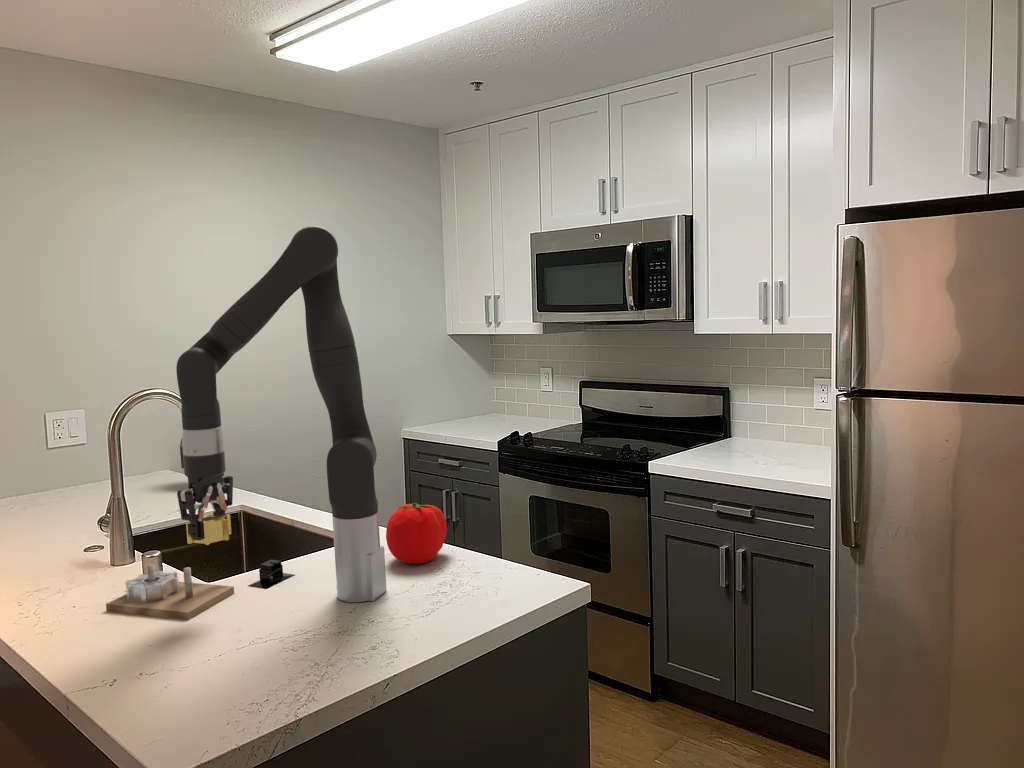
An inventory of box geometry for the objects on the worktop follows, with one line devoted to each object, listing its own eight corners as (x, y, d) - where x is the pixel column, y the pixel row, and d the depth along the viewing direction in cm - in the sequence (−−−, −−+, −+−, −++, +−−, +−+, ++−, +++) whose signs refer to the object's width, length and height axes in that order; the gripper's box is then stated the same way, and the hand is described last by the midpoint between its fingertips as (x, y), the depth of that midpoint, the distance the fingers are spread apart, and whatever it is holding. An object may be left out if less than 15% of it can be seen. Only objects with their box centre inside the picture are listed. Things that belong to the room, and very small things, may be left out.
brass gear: (204, 531, 161) (202, 512, 161) (240, 534, 159) (239, 514, 159) (178, 543, 154) (176, 523, 154) (215, 546, 152) (214, 525, 151)
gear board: (234, 593, 168) (231, 558, 167) (189, 619, 155) (185, 582, 154) (156, 586, 174) (153, 553, 173) (106, 611, 161) (103, 575, 160)
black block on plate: (264, 595, 168) (262, 574, 168) (238, 591, 172) (236, 570, 171) (303, 575, 179) (301, 555, 179) (278, 571, 183) (276, 551, 182)
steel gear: (189, 586, 169) (188, 572, 169) (155, 604, 160) (154, 589, 159) (151, 583, 172) (149, 569, 172) (116, 600, 163) (114, 586, 162)
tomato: (407, 575, 175) (404, 514, 174) (374, 561, 186) (371, 503, 184) (463, 557, 186) (460, 500, 184) (429, 545, 196) (426, 490, 194)
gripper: (195, 458, 147) (201, 547, 149) (242, 444, 160) (248, 525, 162) (161, 457, 149) (168, 544, 151) (211, 443, 163) (216, 523, 164)
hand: (209, 534), depth 157 cm, fingers closed on brass gear, 6 cm apart
